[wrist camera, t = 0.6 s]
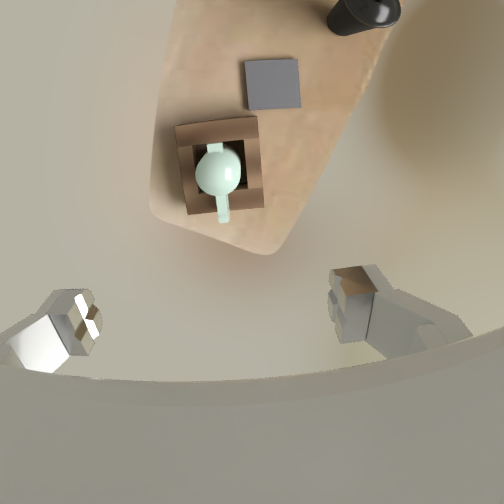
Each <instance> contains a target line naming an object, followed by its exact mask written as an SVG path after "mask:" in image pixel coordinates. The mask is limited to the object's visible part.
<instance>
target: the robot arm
mask: <svg viewBox="0 0 504 504" xmlns="http://www.w3.org/2000/svg"><path fill="white" fill-rule="evenodd" d="M329 283H330V285H331V288H332V289H331V290H330V291H329V293H328V310H329V314H330V318H331V320H332V321H333V322H334V323H336V325H335V331H336V334H337V336H338V339H339V342H340V344H343V343H351V342H359V341H366V342H367V343H368V344H369V345H371V346H372V347H373V348H375V349H376V350H377V351H379V352H380V353H381V354H382V355H384V356H385V357H386V358H388V359H387V360H383V361H378V362H373V363H367V364H362V365H358V366H352V367H346V368H340V369H334V370H327V371H320V372H314V373H305V374H297V375H289V376H279V377H269V378H257V379H243V380H227V381H226V380H225V381H201V382H200V381H199V382H197V381H196V382H156V381H129V380H112V379H99V378H89V377H79V376H69V375H62V374H55V373H53V372H54V371H55V370H56V369H57V368H58V367H59V366H60V365H61V364H62V363H63V362H64V361H65V360H67V359H68V358H69V357H70V355H75V356H76V355H77V356H89V354H90V352H91V349H92V348H93V346H94V343H95V342H94V338H95V337H97V336H98V335H99V334H100V331H101V329H102V317H101V313H100V311H99V309H98V308H97V307H96V306H95V305H94V304H93V303H94V296H93V294H92V292H91V291H90V290H89V289H59V290H54V291H53V292H52V293H51V294H50V296H49V297H48V298H47V299H46V301H45V302H44V303H43V304H42V306H41V307H40V308H39V309H38V311H37V312H36V313H35V314H31V315H30V316H28V317H27V318H25V319H23V320H22V321H20V322H18V323H17V324H15V325H13V326H12V327H10V328H9V329H7V330H6V331H4V332H2V333H1V334H0V504H504V326H502V327H499V328H496V329H493V330H491V331H488V332H485V333H482V334H479V335H476V336H473V334H472V333H471V332H470V331H469V329H468V328H467V327H466V326H465V324H464V323H463V322H462V320H461V319H460V318H459V317H458V316H457V315H455V314H453V313H451V312H449V311H446V310H444V309H442V308H440V307H438V306H435V305H433V304H431V303H429V302H427V301H424V300H422V299H420V298H418V297H415V296H413V295H411V294H409V293H407V292H404V291H402V290H400V289H394V288H393V287H392V285H391V284H390V283H389V281H388V280H387V279H386V277H385V276H384V275H383V273H382V272H381V271H380V269H379V268H378V267H377V265H375V264H369V265H362V266H355V267H348V268H341V269H333V270H330V274H329Z"/></svg>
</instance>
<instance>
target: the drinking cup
mask: <svg viewBox="0 0 504 504" xmlns="http://www.w3.org/2000/svg"><path fill="white" fill-rule="evenodd" d="M400 14H401V7H400V3H399V0H339V1H338V2H337V4H336V5H335V6H334V8H333V9H332V11H331V12H330V14H329V15H328V18H327V24H328V27H329V28H330V29H331V31H333V32H334V33H335V34H337V35H340V36H348V35H351V34H355V33H358V32H362V31H366V30H370V29H374V28H386V27H390V26H392V25H394V24H395V23H396V22H397V21H398V19H399V17H400Z"/></svg>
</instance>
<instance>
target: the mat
mask: <svg viewBox="0 0 504 504" xmlns="http://www.w3.org/2000/svg"><path fill="white" fill-rule="evenodd" d="M245 73H246V84H247V95H248V106H249V110H262V109H279V108H301V98H300V84H299V72H298V60H297V59H279V60H257V61H245Z"/></svg>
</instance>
